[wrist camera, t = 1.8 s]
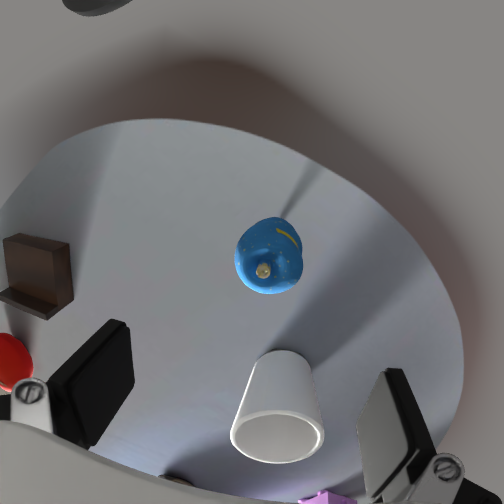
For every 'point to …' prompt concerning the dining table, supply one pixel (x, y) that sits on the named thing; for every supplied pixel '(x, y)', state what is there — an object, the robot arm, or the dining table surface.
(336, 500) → the teapot
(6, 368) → the tomato
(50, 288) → the shelf
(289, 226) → the ornament
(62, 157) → the dining table surface
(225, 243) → the dining table surface
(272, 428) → the cup
